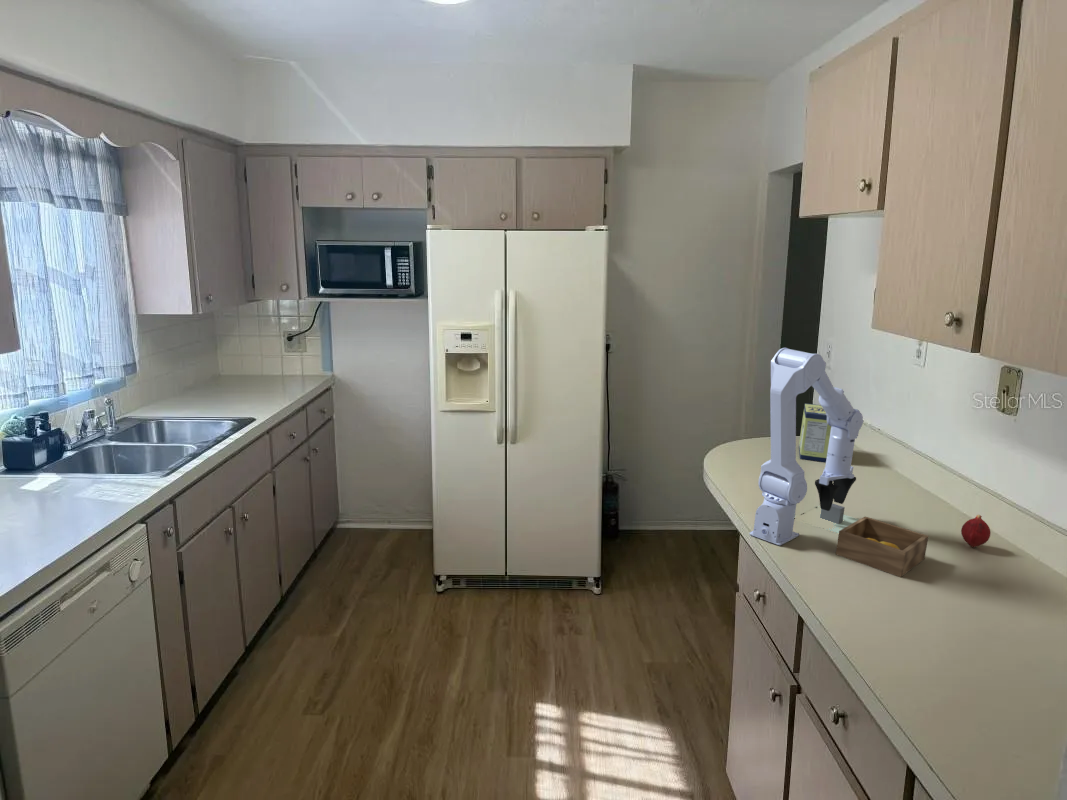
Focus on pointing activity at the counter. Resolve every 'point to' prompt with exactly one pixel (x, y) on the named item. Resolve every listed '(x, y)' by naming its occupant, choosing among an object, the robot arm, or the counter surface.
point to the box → (882, 546)
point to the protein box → (814, 434)
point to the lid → (837, 517)
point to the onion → (975, 531)
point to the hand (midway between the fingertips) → (831, 506)
